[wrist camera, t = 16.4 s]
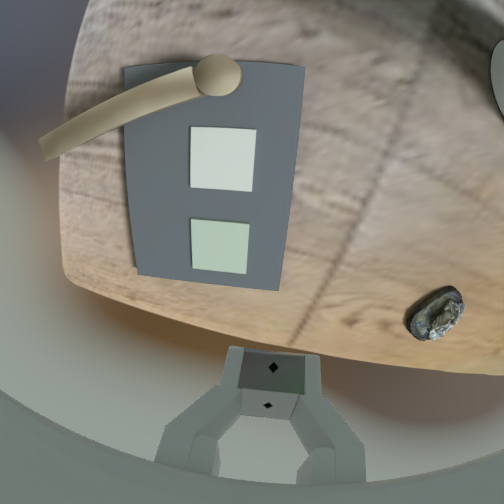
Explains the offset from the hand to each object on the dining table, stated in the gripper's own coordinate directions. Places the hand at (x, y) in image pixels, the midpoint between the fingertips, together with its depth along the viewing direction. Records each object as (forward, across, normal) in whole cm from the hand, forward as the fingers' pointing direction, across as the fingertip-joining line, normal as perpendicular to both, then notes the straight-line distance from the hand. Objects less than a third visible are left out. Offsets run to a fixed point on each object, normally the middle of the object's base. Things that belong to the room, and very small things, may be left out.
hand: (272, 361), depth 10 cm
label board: (+26, +9, +3) cm, 28 cm away
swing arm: (+22, +16, -6) cm, 29 cm away
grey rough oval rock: (+28, -28, +21) cm, 45 cm away
